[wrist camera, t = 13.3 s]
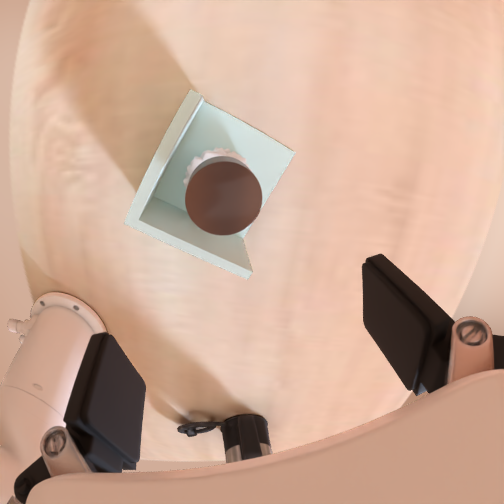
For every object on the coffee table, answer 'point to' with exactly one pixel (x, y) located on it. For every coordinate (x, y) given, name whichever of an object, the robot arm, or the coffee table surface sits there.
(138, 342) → the coffee table surface
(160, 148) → the right angle wall
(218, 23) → the coffee table surface
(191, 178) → the brown cylinder
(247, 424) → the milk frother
